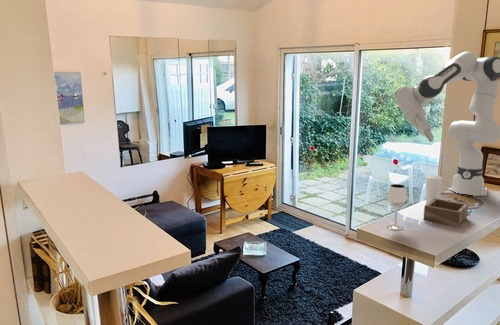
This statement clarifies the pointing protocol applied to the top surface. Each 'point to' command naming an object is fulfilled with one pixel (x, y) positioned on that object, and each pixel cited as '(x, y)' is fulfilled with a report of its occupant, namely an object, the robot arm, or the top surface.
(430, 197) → the white rectangular block
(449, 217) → the walnut crate
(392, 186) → the wineglass
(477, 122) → the robot arm
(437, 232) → the top surface
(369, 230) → the top surface
